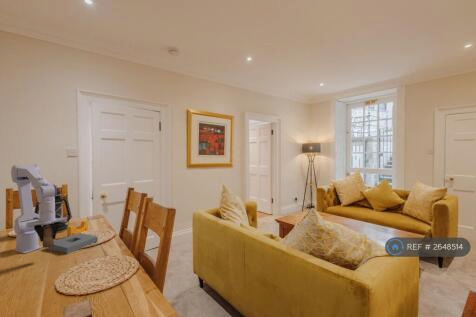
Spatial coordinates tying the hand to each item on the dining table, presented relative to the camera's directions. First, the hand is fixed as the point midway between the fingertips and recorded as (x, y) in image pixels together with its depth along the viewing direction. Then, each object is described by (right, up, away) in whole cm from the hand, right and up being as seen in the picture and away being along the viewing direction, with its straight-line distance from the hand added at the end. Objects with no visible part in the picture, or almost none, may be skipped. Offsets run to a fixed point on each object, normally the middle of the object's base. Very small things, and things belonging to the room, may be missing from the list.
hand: (48, 239), depth 106 cm
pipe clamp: (-11, -9, +34) cm, 37 cm away
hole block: (0, -9, +16) cm, 19 cm away
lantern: (-30, -9, +39) cm, 50 cm away
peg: (0, -3, 0) cm, 3 cm away
